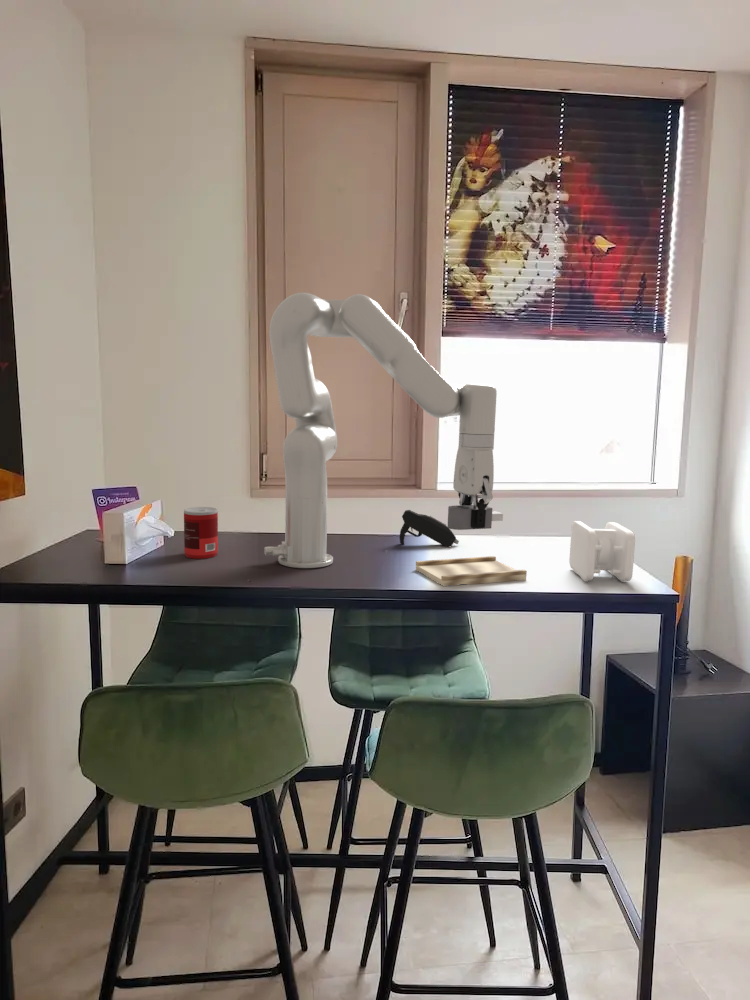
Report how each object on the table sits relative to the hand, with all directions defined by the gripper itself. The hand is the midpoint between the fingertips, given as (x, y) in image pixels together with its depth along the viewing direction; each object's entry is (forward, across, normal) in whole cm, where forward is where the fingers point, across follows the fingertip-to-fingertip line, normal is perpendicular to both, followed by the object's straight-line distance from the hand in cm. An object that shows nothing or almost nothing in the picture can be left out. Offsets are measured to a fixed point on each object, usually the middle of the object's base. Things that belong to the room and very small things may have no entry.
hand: (472, 524), depth 155 cm
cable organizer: (+12, +9, +28) cm, 32 cm away
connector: (+1, 0, 0) cm, 1 cm away
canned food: (+12, -33, -54) cm, 64 cm away
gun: (+12, -30, +4) cm, 32 cm away
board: (+11, 0, 0) cm, 11 cm away
